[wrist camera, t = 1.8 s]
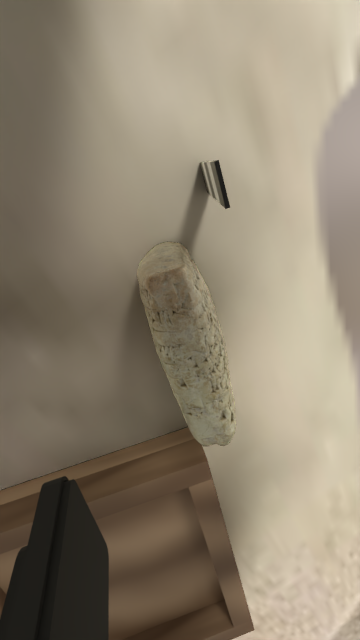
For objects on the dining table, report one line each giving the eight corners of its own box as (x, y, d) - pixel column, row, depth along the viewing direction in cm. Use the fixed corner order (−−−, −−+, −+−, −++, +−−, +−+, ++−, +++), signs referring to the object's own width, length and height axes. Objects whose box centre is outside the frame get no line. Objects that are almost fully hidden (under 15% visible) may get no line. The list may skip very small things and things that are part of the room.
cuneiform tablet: (202, 161, 17) (254, 360, 21) (117, 191, 17) (187, 379, 22) (218, 160, 10) (288, 445, 15) (81, 207, 11) (191, 468, 16)
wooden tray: (-68, 513, 21) (-96, 566, 18) (194, 425, 22) (207, 460, 20) (51, 660, 28) (45, 714, 26) (240, 586, 30) (254, 630, 27)
